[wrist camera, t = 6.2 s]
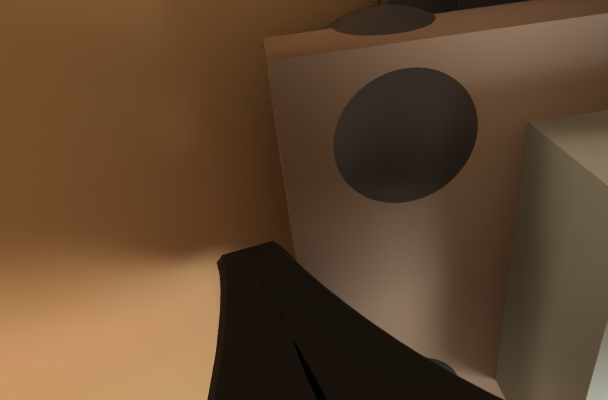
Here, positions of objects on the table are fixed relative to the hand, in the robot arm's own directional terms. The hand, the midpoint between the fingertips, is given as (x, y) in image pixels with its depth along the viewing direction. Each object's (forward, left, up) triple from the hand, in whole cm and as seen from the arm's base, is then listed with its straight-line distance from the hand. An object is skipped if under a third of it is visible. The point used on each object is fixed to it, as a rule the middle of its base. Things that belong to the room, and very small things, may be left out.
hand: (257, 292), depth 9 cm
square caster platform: (+6, 0, -1) cm, 6 cm away
